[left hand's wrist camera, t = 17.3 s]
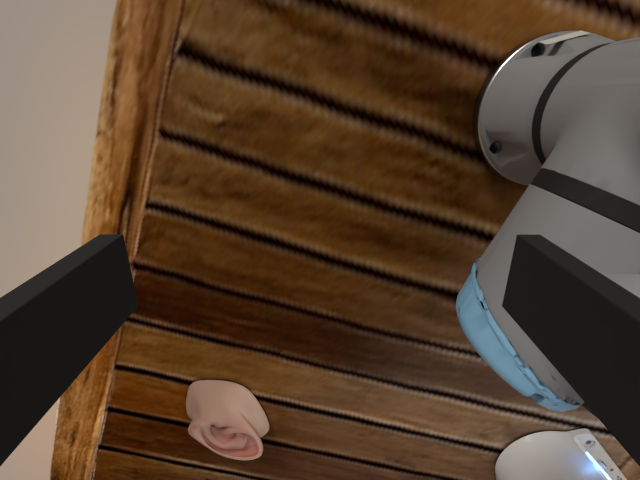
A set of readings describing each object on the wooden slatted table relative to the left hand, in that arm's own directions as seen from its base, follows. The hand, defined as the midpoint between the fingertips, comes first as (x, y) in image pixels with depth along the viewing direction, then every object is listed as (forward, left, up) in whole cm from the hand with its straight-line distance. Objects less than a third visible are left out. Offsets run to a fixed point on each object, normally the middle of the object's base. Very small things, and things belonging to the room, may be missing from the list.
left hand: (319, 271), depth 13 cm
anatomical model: (+4, +41, -31) cm, 52 cm away
